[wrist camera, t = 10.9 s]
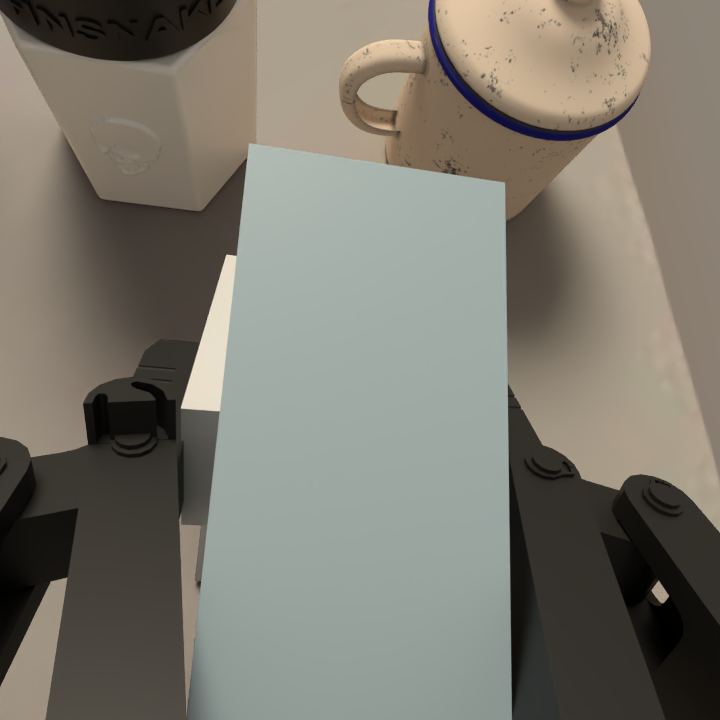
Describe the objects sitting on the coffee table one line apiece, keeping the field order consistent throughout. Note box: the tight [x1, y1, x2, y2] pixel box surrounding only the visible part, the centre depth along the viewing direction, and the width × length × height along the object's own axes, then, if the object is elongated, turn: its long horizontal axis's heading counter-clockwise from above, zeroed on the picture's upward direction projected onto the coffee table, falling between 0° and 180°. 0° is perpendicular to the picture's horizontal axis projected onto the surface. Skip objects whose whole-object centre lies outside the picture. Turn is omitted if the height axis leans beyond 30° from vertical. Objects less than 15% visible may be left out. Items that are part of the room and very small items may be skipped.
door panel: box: [186, 143, 512, 720], centre depth 13 cm, size 8×4×11 cm, turn 177°
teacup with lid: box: [339, 0, 651, 221], centre depth 23 cm, size 12×9×12 cm
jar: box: [0, 0, 257, 211], centre depth 21 cm, size 9×8×12 cm
